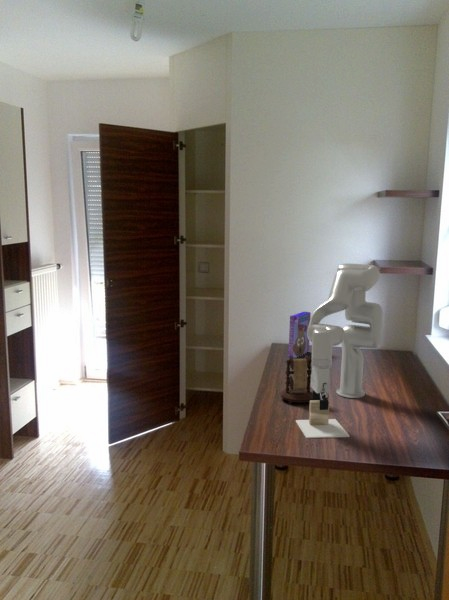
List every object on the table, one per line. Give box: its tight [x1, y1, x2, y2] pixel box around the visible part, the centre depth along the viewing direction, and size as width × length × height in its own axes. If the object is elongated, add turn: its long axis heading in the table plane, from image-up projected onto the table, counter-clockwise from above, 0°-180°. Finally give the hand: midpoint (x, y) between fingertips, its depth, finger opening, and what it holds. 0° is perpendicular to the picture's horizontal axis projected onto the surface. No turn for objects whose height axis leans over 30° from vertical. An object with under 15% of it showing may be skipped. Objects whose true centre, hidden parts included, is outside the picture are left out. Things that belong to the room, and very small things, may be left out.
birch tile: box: [308, 400, 330, 425], centre depth 201 cm, size 3×7×9 cm, turn 96°
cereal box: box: [288, 311, 312, 359], centre depth 303 cm, size 17×5×24 cm, turn 147°
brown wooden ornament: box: [280, 354, 312, 405], centre depth 228 cm, size 15×15×20 cm
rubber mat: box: [295, 418, 350, 439], centre depth 198 cm, size 16×16×1 cm
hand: (319, 404), depth 201 cm, fingers open, 9 cm apart
